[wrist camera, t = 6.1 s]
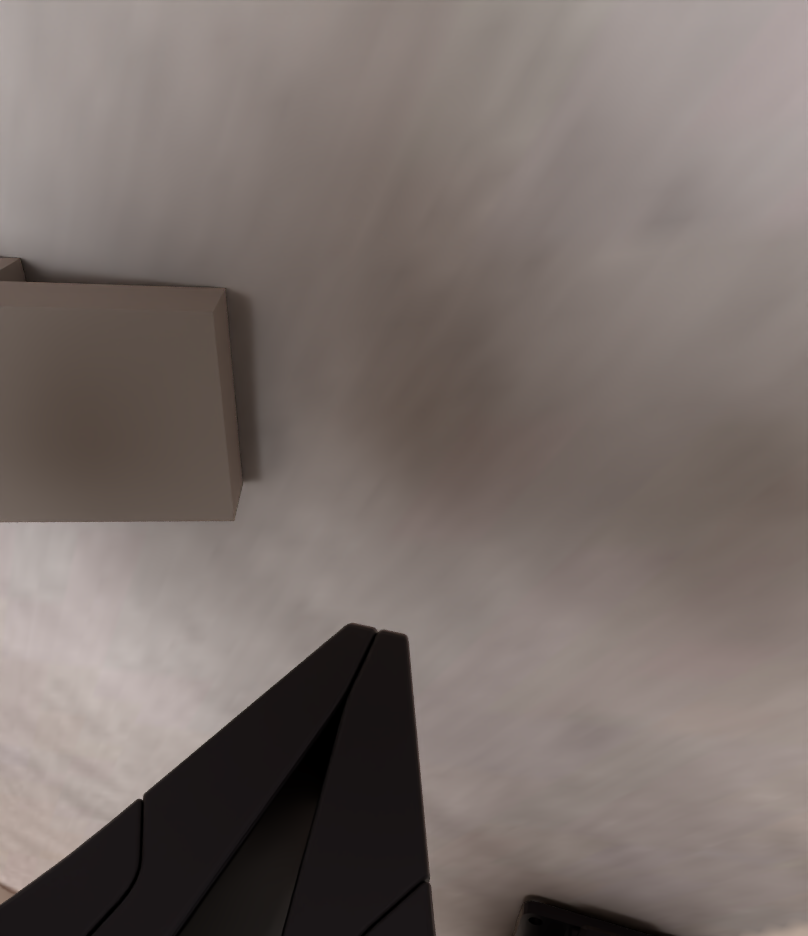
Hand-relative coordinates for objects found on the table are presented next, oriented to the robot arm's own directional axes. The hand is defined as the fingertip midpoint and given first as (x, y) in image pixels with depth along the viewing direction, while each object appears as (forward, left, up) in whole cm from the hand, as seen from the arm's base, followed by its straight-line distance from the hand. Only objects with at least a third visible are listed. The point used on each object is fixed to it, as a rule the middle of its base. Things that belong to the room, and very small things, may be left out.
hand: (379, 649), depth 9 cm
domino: (0, +5, -6) cm, 8 cm away
